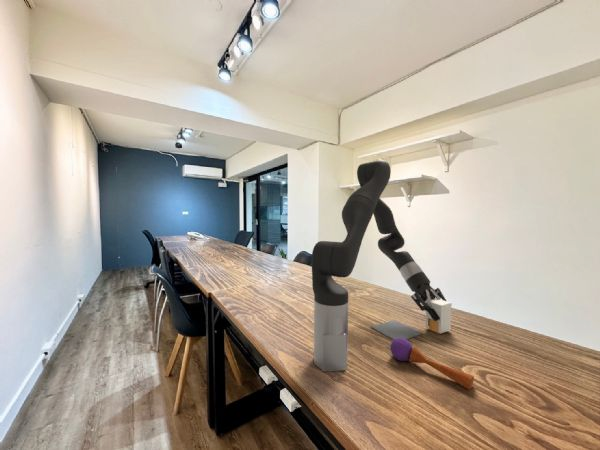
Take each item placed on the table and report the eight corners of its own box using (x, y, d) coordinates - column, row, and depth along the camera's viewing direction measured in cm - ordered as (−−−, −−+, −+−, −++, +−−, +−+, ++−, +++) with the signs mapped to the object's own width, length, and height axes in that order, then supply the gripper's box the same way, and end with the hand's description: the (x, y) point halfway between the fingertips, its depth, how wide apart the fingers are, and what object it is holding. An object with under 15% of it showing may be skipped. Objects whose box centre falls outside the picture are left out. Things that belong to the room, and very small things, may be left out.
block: (447, 331, 90) (447, 320, 90) (440, 334, 88) (440, 322, 88) (436, 327, 93) (436, 316, 93) (429, 329, 91) (429, 318, 91)
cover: (450, 329, 89) (451, 302, 89) (440, 333, 87) (441, 305, 86) (435, 323, 94) (436, 298, 94) (425, 326, 91) (426, 300, 91)
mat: (422, 334, 88) (422, 332, 87) (398, 342, 82) (398, 341, 82) (394, 320, 98) (394, 319, 98) (370, 327, 92) (370, 326, 92)
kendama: (468, 380, 58) (386, 340, 72) (466, 401, 59) (386, 358, 74) (476, 365, 62) (396, 330, 76) (474, 385, 63) (396, 347, 77)
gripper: (407, 273, 93) (438, 317, 83) (432, 269, 100) (463, 309, 90) (395, 283, 98) (422, 327, 88) (420, 279, 104) (447, 319, 95)
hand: (443, 318), depth 89 cm, fingers closed on cover, 5 cm apart
